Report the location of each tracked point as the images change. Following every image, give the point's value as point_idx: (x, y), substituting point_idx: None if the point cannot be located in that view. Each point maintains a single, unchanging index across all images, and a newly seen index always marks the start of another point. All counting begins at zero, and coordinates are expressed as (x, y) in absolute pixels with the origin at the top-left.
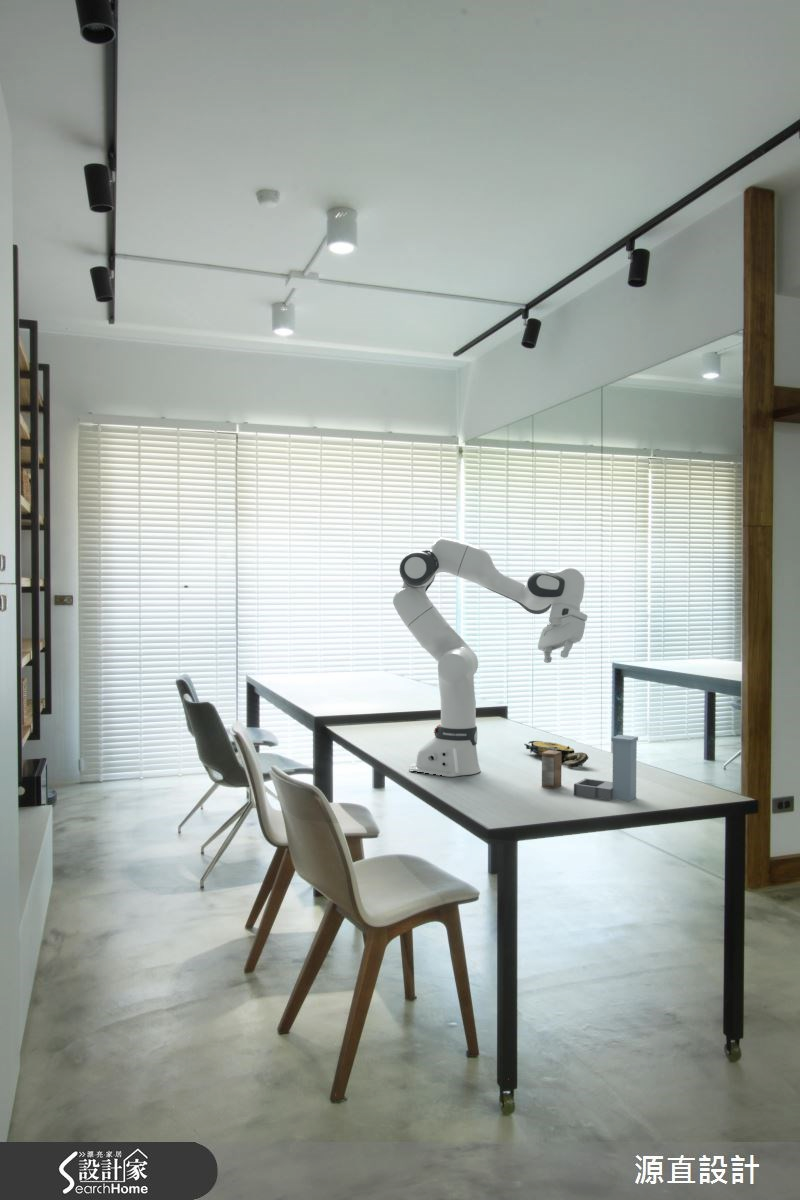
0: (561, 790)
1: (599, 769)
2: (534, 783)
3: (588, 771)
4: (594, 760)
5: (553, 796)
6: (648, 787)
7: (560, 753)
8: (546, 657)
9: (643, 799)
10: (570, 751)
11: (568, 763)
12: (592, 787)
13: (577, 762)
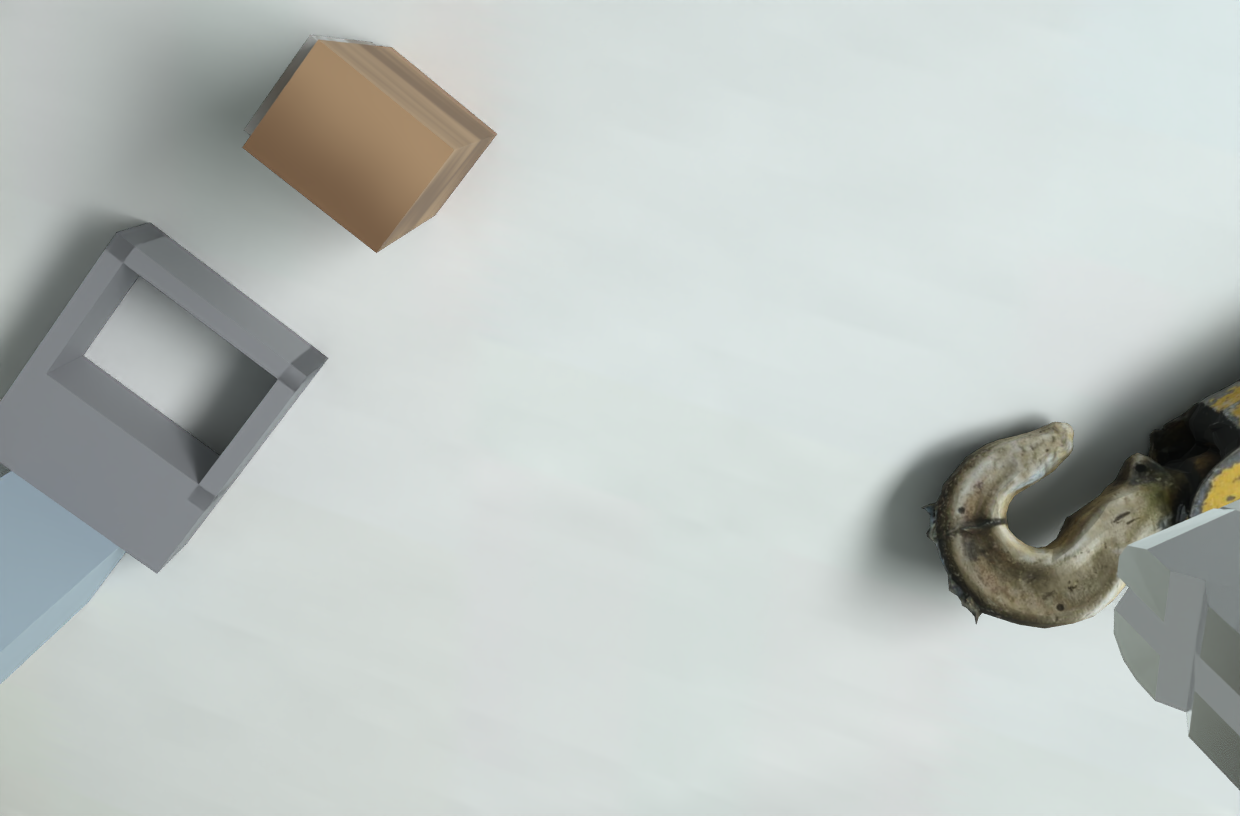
0: None
1: (907, 645)
2: (505, 17)
3: (854, 548)
4: None
5: (102, 58)
6: (356, 769)
7: (359, 234)
8: (1230, 599)
9: None
10: None
11: (998, 448)
12: (41, 343)
13: (946, 509)
